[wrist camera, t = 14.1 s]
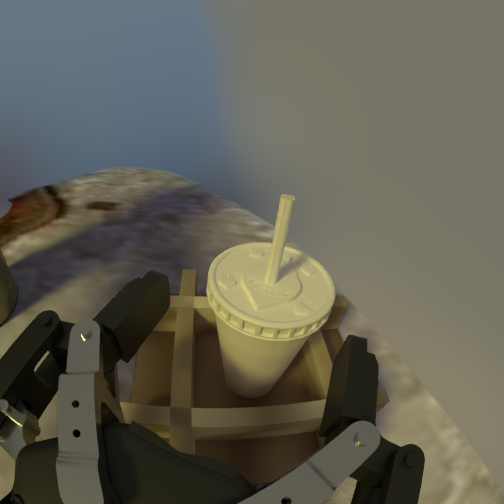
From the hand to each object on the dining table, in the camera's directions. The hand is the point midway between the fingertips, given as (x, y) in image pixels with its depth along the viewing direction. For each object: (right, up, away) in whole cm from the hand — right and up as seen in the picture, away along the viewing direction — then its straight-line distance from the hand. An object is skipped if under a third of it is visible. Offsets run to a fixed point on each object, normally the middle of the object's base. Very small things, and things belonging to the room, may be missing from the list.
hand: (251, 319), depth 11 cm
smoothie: (0, -6, +8) cm, 10 cm away
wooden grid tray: (0, -7, +8) cm, 11 cm away
